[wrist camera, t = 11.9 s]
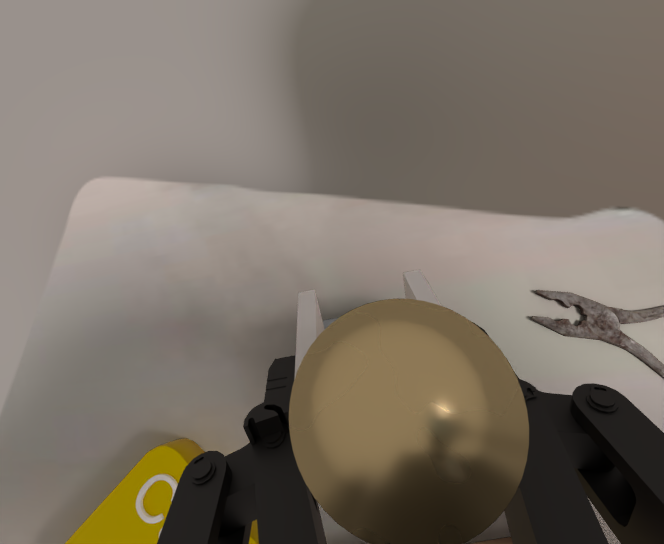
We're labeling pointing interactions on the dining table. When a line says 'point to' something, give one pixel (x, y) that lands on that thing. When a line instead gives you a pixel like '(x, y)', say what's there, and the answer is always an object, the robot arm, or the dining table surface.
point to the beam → (496, 541)
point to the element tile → (142, 499)
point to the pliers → (602, 324)
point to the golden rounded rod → (408, 424)
